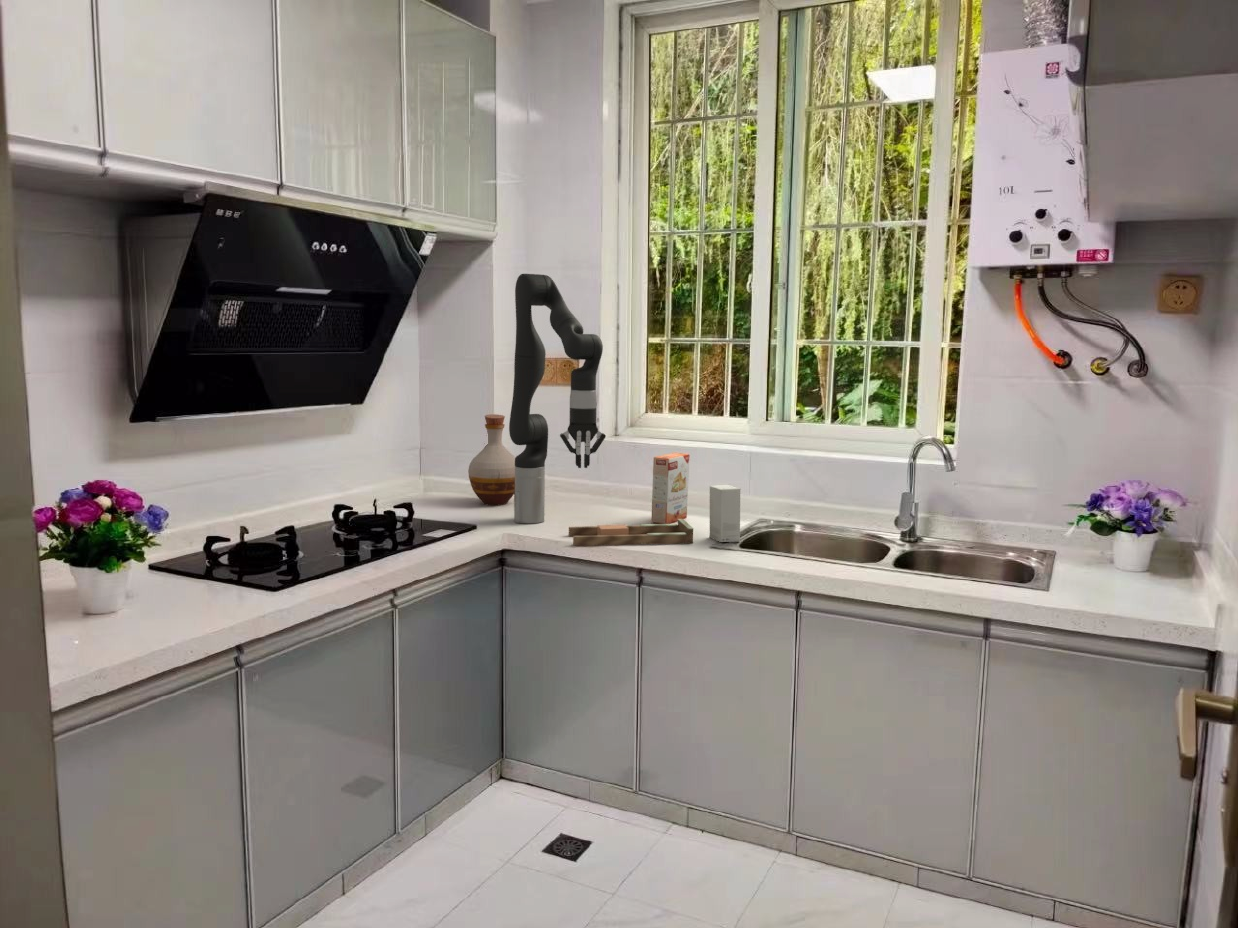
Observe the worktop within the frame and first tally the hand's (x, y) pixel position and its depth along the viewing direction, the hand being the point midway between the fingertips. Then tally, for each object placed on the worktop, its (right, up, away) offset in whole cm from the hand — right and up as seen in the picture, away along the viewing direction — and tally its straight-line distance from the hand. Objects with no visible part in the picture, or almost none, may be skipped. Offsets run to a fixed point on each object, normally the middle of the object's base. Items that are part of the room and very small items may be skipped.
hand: (582, 467), depth 261 cm
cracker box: (+26, -17, +32) cm, 45 cm away
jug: (-32, -12, +55) cm, 65 cm away
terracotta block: (+9, -21, +5) cm, 23 cm away
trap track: (+13, -21, +5) cm, 25 cm away
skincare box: (+41, -21, +7) cm, 46 cm away
